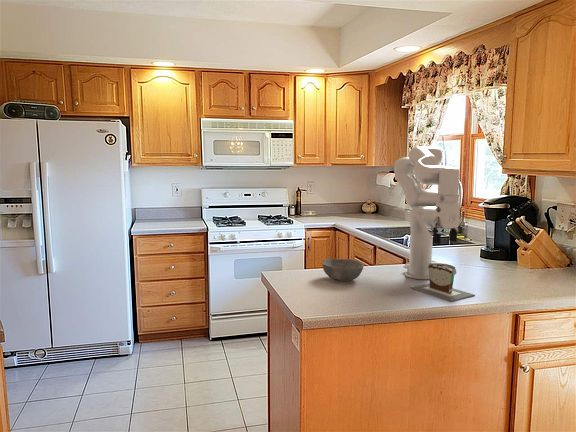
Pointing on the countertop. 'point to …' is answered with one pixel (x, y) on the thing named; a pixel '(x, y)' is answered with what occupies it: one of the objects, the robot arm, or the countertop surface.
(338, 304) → the countertop surface
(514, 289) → the countertop surface
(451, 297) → the mat
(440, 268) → the food container
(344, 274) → the bowl
